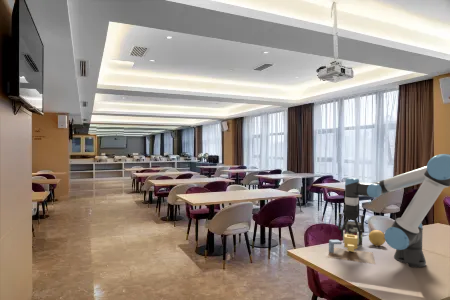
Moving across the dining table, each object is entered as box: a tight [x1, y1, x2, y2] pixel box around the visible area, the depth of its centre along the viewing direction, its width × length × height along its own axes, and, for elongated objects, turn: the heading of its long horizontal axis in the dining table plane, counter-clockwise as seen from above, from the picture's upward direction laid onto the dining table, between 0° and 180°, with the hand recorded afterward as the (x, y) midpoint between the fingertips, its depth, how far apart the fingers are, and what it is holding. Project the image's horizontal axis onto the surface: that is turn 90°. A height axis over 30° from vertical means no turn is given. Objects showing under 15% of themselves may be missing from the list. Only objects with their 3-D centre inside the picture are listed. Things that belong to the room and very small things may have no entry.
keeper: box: [328, 239, 343, 253], centre depth 182 cm, size 6×5×6 cm
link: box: [343, 233, 358, 252], centre depth 180 cm, size 13×7×6 cm, turn 158°
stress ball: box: [368, 229, 386, 247], centre depth 200 cm, size 10×10×10 cm
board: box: [327, 247, 376, 265], centre depth 177 cm, size 24×20×2 cm
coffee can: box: [345, 220, 363, 248], centre depth 201 cm, size 10×10×14 cm
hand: (350, 242), depth 182 cm, fingers closed on link, 7 cm apart
